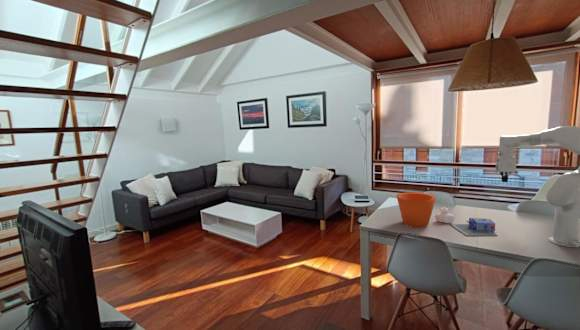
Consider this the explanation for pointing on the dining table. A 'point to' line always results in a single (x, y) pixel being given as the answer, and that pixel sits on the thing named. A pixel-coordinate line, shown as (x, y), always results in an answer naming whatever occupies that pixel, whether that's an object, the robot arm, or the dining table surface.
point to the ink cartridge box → (481, 224)
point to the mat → (471, 230)
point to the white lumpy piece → (444, 216)
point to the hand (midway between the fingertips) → (504, 181)
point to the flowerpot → (416, 208)
